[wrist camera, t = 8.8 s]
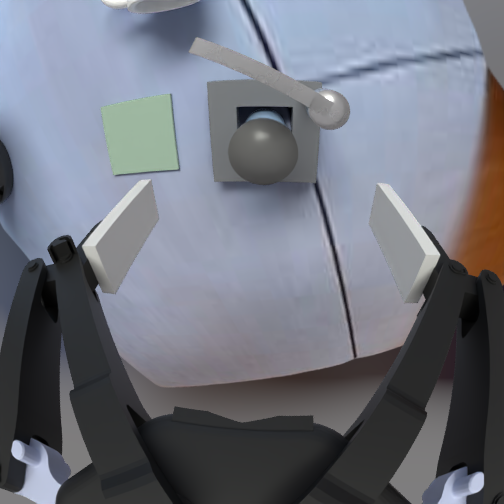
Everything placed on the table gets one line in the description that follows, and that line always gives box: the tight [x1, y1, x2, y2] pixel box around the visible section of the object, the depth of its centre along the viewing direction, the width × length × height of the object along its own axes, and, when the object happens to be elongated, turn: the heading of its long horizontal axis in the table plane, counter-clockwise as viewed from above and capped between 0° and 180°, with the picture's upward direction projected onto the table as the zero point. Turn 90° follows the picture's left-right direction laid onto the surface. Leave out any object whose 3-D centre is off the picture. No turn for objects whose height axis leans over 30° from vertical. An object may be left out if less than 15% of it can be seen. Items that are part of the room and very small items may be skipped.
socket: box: [207, 79, 322, 183], centre depth 25 cm, size 12×12×12 cm
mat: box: [101, 94, 179, 175], centre depth 31 cm, size 10×10×1 cm
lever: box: [189, 37, 350, 130], centre depth 16 cm, size 11×3×2 cm, turn 63°
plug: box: [228, 108, 298, 185], centre depth 26 cm, size 6×6×10 cm
